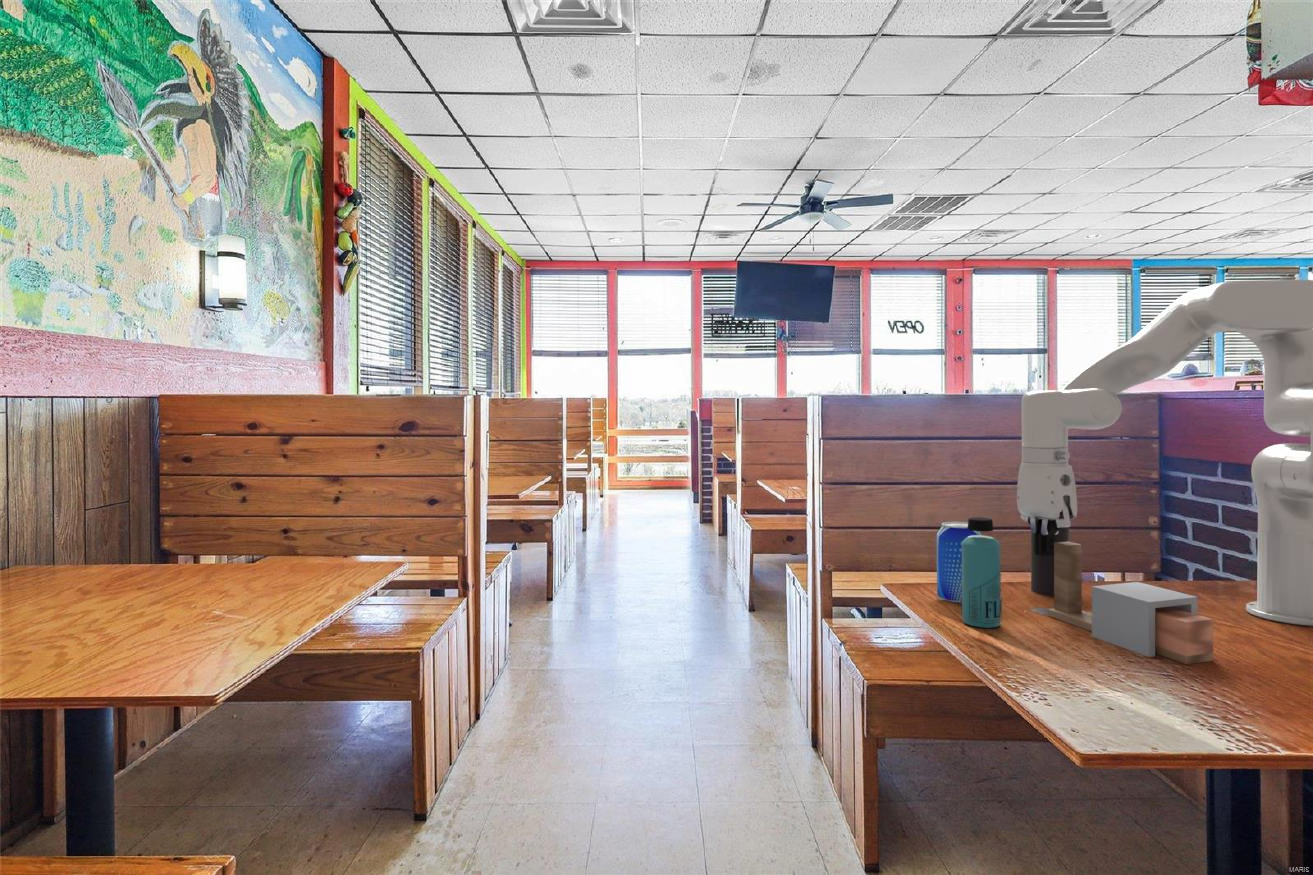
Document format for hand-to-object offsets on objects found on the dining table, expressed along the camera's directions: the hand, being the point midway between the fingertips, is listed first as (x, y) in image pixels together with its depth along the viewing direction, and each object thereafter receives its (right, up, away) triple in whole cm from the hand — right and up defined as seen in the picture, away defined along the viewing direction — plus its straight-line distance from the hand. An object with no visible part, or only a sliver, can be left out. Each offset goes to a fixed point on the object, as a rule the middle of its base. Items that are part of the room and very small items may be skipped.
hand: (1044, 554), depth 128 cm
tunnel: (+5, -12, -19) cm, 23 cm away
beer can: (-11, -12, +10) cm, 19 cm away
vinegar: (+8, -11, +13) cm, 19 cm away
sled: (+4, -11, -15) cm, 19 cm away
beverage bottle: (-15, -12, -7) cm, 21 cm away
